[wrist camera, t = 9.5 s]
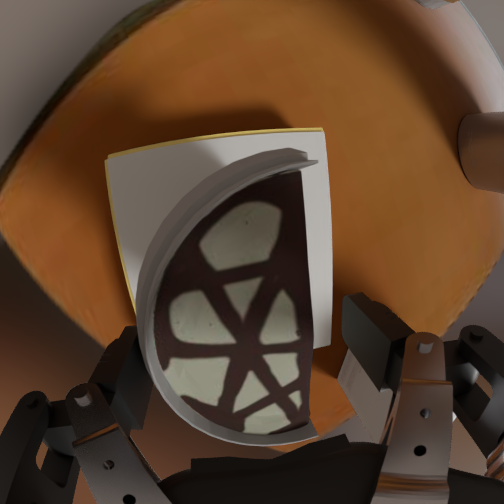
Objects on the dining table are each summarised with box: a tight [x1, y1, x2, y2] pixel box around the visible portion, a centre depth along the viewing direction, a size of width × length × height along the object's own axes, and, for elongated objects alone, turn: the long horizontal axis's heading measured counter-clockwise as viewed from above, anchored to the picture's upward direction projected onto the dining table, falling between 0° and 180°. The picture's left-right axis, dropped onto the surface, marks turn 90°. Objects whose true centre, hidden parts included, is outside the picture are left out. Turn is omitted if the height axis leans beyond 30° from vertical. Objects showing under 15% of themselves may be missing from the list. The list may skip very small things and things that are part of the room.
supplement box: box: [337, 348, 457, 444], centre depth 21 cm, size 7×7×13 cm
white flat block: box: [104, 128, 332, 349], centre depth 19 cm, size 14×16×4 cm
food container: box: [135, 148, 319, 446], centre depth 12 cm, size 12×6×10 cm, turn 7°
